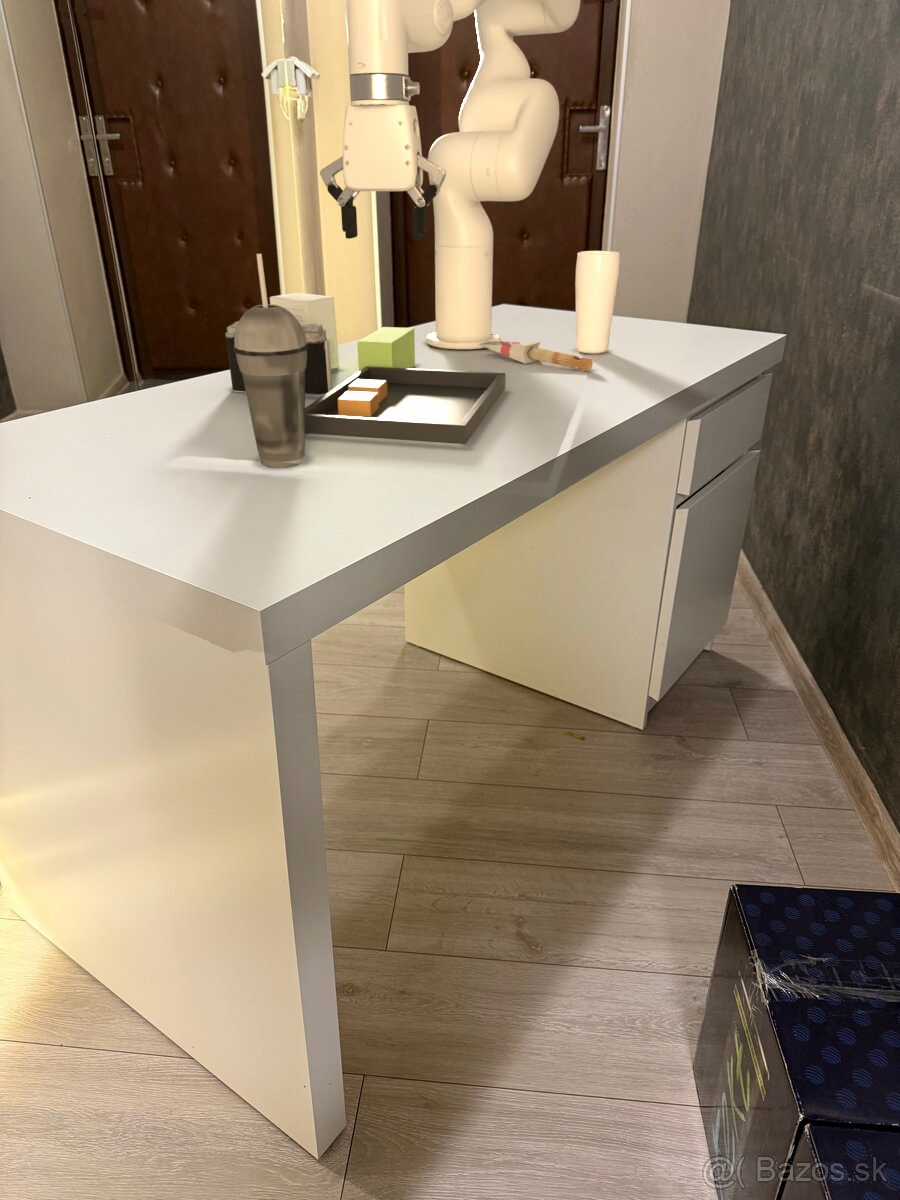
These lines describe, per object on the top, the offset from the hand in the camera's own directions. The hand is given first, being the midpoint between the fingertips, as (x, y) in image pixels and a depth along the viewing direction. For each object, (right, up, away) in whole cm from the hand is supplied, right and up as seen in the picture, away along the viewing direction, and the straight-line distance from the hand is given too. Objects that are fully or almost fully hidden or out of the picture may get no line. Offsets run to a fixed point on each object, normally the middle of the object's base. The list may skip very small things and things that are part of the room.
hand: (384, 238), depth 114 cm
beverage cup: (-9, -36, -28) cm, 46 cm away
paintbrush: (+22, -13, +15) cm, 30 cm away
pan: (+4, -27, -11) cm, 29 cm away
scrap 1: (-2, -24, -7) cm, 25 cm away
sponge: (0, -16, +8) cm, 18 cm away
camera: (-14, -22, -3) cm, 27 cm away
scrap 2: (-2, -27, -13) cm, 30 cm away
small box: (-12, -16, +10) cm, 22 cm away
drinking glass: (+32, -9, +22) cm, 40 cm away
